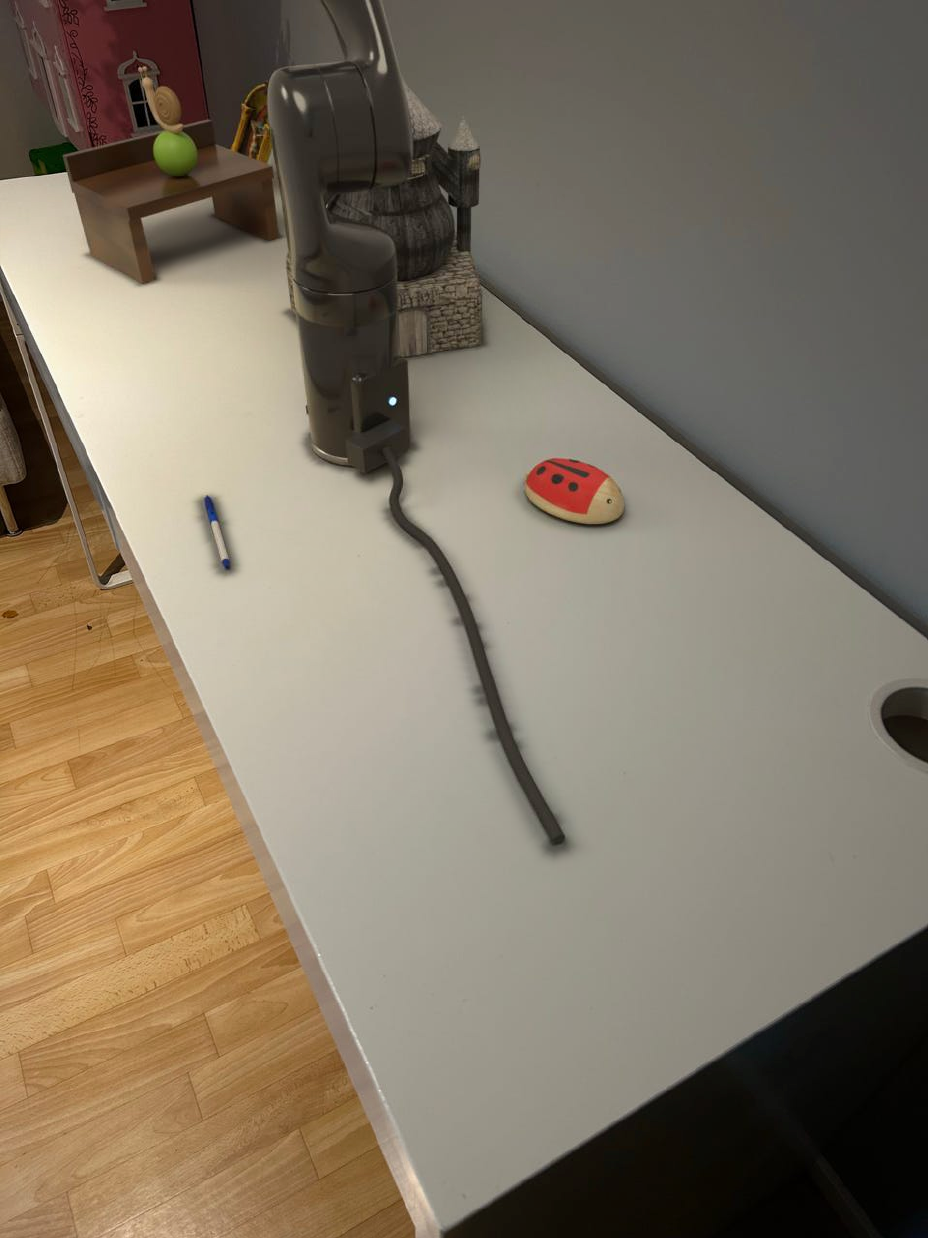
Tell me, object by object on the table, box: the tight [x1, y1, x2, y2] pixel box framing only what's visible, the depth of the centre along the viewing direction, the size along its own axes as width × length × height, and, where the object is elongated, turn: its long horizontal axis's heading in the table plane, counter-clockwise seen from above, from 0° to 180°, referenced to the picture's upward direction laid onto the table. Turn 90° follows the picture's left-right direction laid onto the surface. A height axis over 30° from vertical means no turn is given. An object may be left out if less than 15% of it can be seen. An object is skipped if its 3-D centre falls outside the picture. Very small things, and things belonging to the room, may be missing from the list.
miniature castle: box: [285, 73, 483, 358], centre depth 102 cm, size 22×16×30 cm
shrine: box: [230, 78, 273, 164], centre depth 141 cm, size 12×8×15 cm
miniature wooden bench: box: [62, 119, 280, 285], centre depth 125 cm, size 14×22×13 cm, turn 136°
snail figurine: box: [137, 65, 197, 177], centre depth 118 cm, size 5×6×12 cm
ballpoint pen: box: [204, 494, 230, 570], centre depth 82 cm, size 10×1×1 cm, turn 22°
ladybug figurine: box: [524, 457, 625, 525], centre depth 85 cm, size 7×10×4 cm
